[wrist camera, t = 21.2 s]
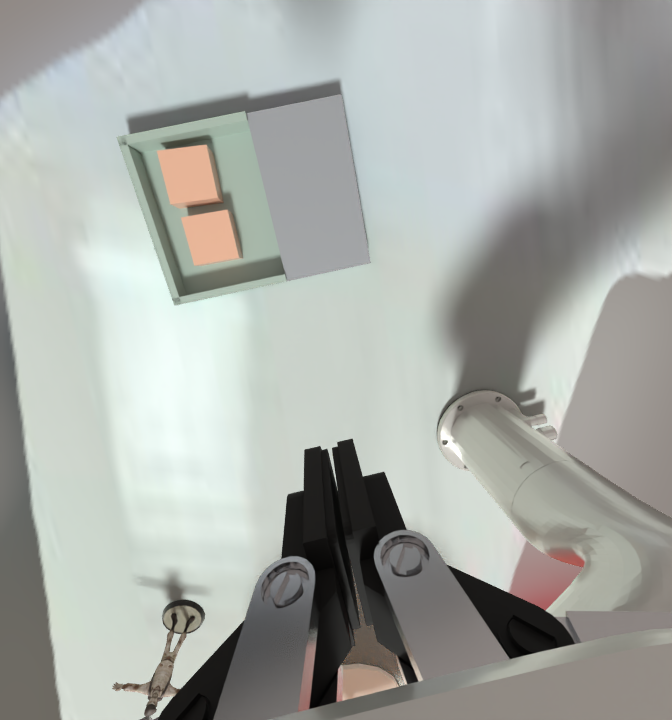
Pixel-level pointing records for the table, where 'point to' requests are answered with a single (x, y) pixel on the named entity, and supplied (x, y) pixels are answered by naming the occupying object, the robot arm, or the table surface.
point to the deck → (310, 185)
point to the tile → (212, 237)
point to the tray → (206, 207)
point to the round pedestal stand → (365, 680)
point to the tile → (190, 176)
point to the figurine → (177, 620)
